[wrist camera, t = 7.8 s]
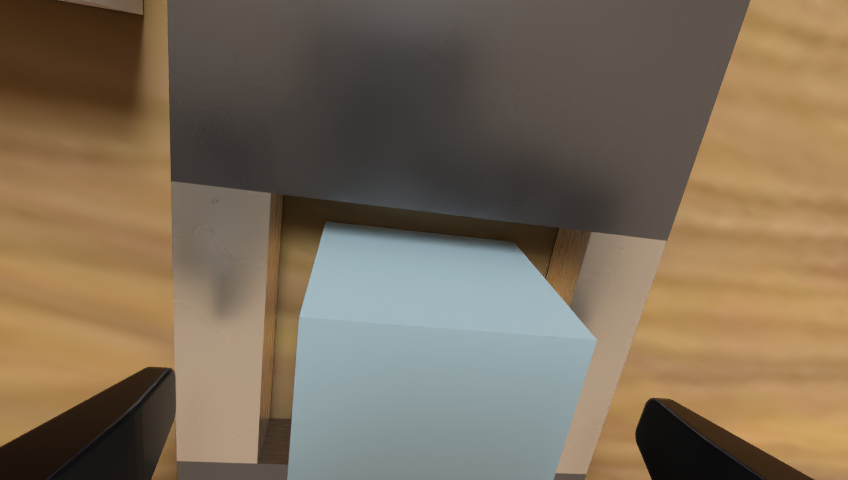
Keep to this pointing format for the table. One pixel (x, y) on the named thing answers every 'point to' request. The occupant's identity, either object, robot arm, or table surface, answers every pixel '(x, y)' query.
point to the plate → (422, 166)
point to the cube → (432, 361)
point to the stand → (114, 4)
